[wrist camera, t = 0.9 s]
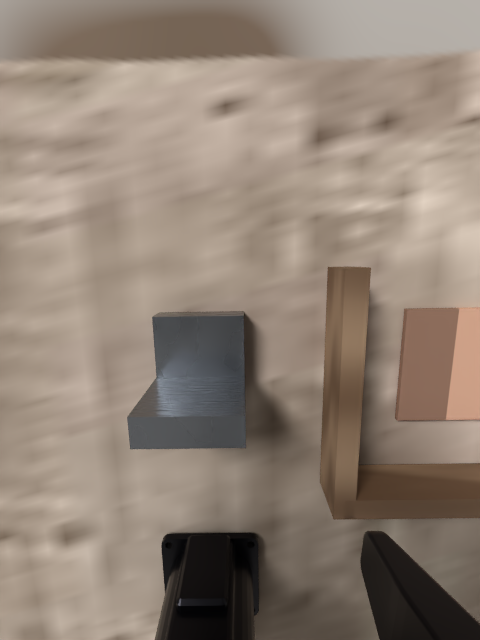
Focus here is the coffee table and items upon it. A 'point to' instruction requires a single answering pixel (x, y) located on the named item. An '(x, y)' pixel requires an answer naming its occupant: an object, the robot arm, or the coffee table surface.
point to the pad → (439, 365)
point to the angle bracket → (194, 384)
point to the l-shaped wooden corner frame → (345, 424)
